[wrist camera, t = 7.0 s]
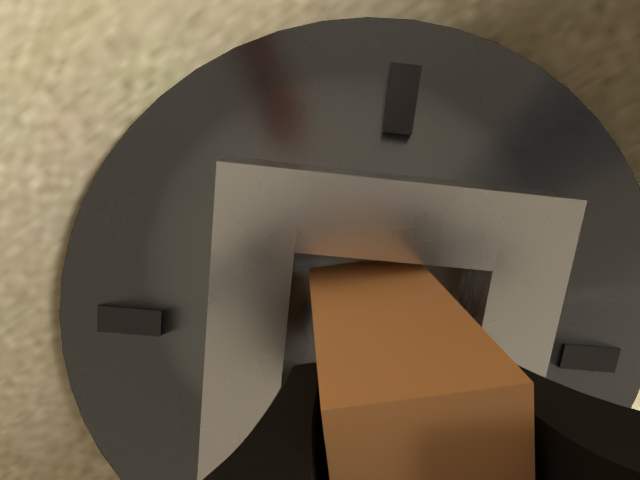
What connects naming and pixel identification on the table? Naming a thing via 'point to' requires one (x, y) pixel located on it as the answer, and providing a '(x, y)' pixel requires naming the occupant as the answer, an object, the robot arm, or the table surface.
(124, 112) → the table surface
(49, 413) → the table surface
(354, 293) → the tall tan block
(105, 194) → the disc with square hole
